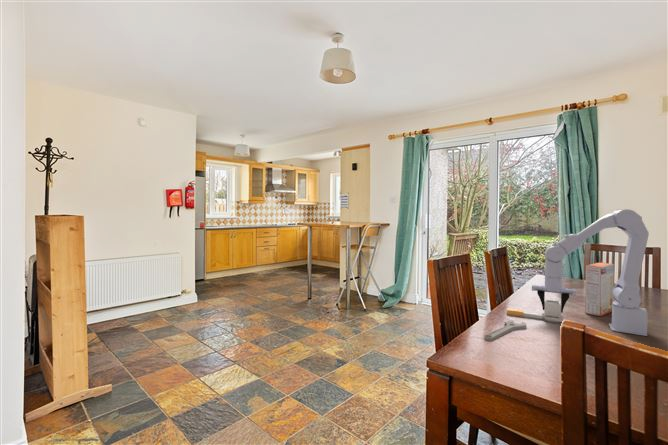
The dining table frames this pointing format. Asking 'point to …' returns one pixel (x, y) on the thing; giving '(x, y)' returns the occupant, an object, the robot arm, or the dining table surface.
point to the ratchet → (535, 316)
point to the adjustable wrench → (504, 330)
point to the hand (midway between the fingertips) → (552, 310)
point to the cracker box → (599, 288)
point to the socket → (552, 308)
